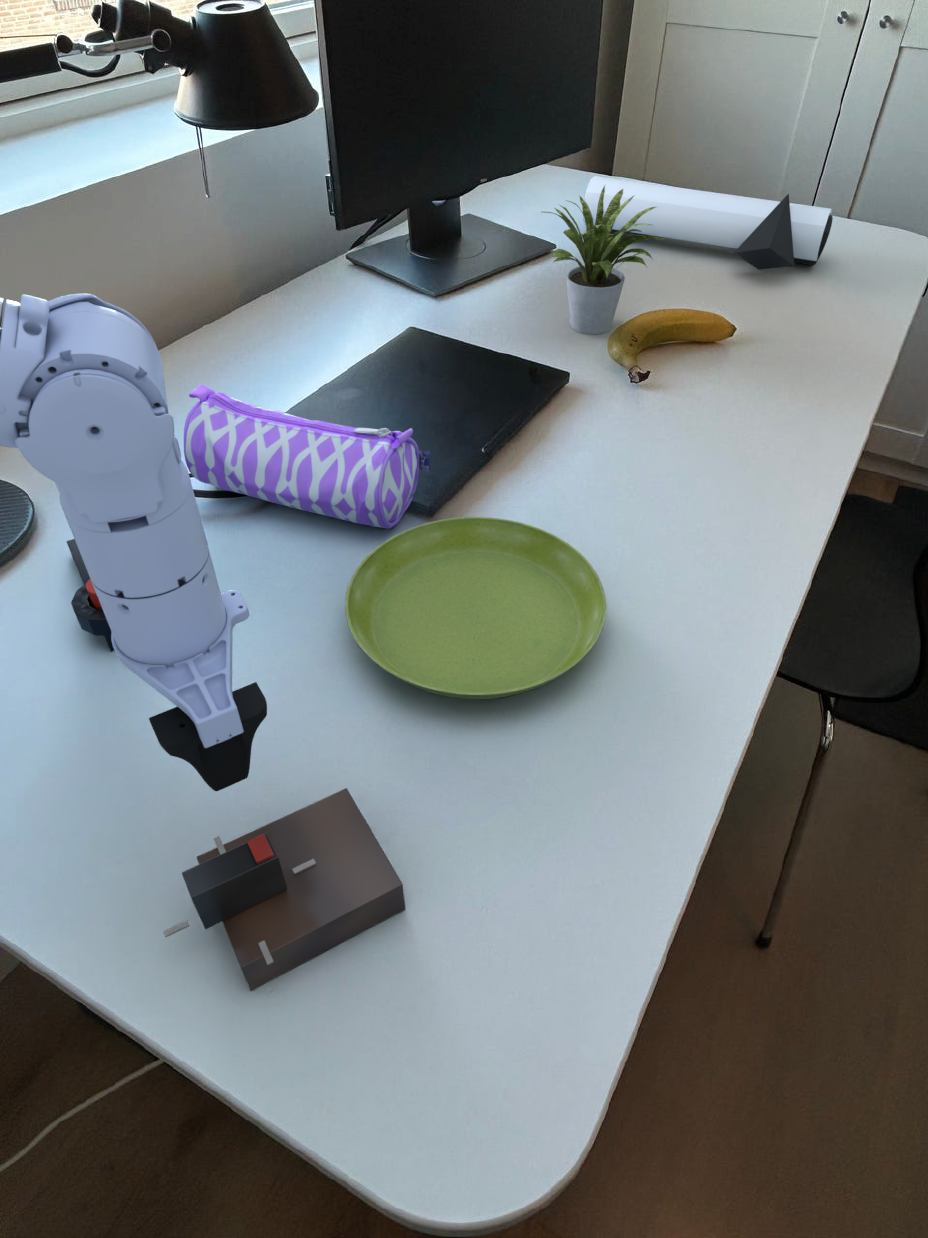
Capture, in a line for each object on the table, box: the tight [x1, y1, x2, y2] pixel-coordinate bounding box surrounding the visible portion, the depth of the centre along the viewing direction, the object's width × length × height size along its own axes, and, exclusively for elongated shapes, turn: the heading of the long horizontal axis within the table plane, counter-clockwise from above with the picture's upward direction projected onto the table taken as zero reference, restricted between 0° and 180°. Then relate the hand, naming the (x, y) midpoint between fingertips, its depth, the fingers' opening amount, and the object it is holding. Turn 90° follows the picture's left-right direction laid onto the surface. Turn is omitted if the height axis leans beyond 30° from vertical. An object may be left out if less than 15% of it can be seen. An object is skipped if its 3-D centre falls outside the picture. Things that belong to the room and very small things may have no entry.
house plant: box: [542, 186, 666, 335], centre depth 105 cm, size 14×14×16 cm
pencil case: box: [183, 383, 431, 529], centre depth 81 cm, size 22×9×10 cm, turn 71°
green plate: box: [344, 516, 607, 700], centre depth 71 cm, size 21×21×3 cm
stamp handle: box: [181, 833, 287, 930], centre depth 50 cm, size 5×2×4 cm, turn 120°
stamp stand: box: [162, 787, 406, 992], centre depth 53 cm, size 13×9×3 cm
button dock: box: [66, 538, 115, 653], centre depth 74 cm, size 14×9×4 cm, turn 30°
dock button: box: [86, 579, 103, 610], centre depth 69 cm, size 3×3×2 cm
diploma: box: [582, 175, 834, 271], centre depth 124 cm, size 35×9×14 cm
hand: (208, 735), depth 52 cm, fingers open, 7 cm apart
